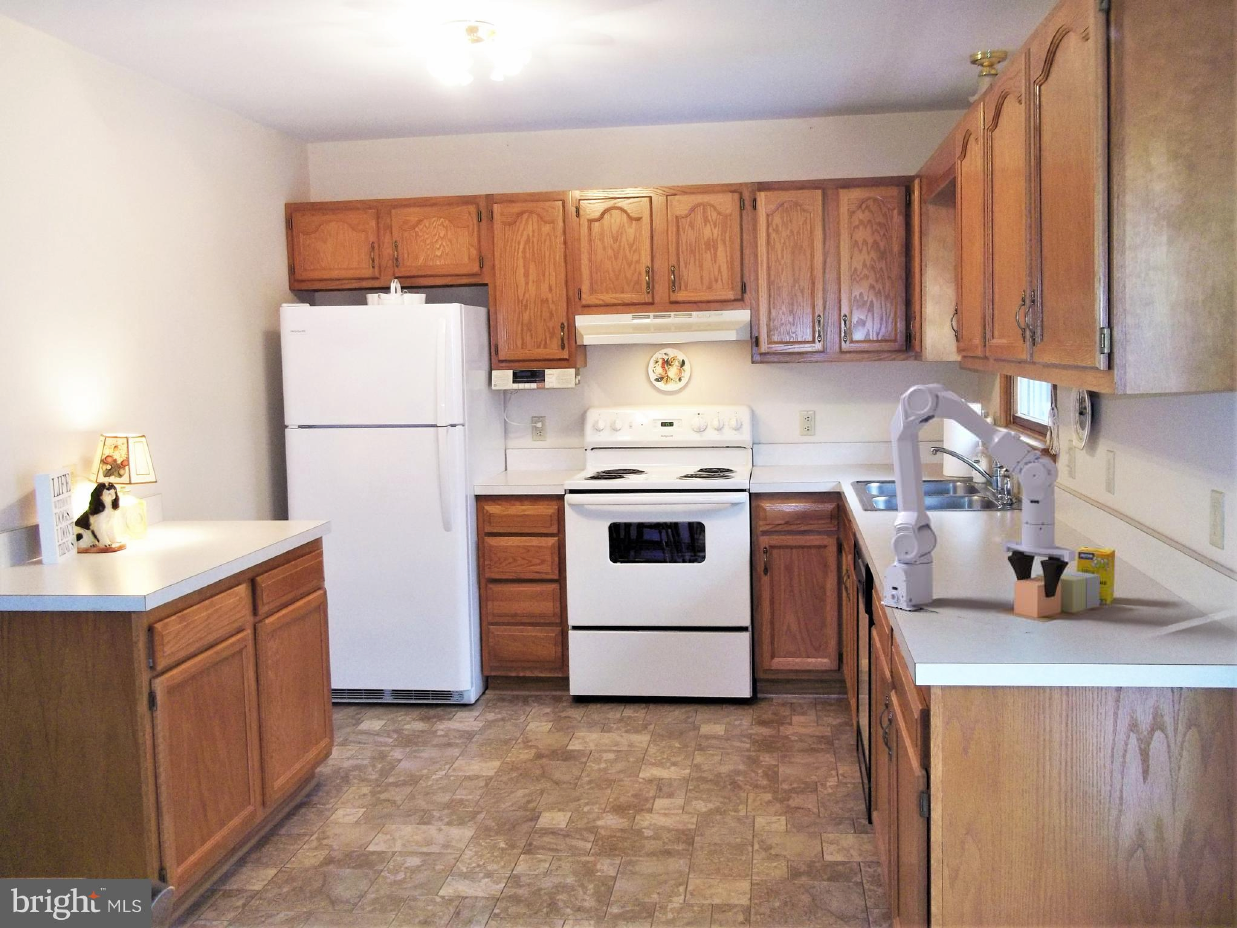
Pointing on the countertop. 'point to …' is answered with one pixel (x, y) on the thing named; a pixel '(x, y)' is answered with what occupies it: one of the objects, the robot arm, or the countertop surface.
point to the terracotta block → (1035, 598)
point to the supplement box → (1099, 569)
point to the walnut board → (1049, 617)
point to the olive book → (1072, 593)
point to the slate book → (1089, 587)
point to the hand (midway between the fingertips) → (1037, 594)
